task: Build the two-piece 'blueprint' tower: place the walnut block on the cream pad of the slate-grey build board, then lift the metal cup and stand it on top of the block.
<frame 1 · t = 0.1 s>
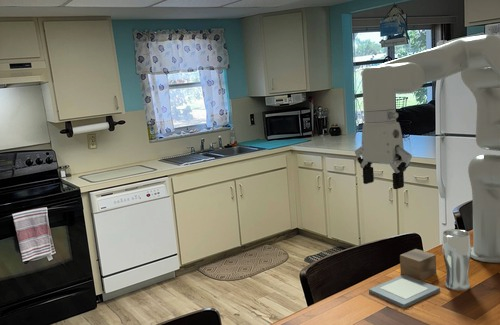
hand: (383, 185, 116), 31 cm above the table, fingers open, 9 cm apart
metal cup: (457, 286, 126), on the table
walnut block: (418, 274, 136), on the table
build board: (404, 291, 126), on the table
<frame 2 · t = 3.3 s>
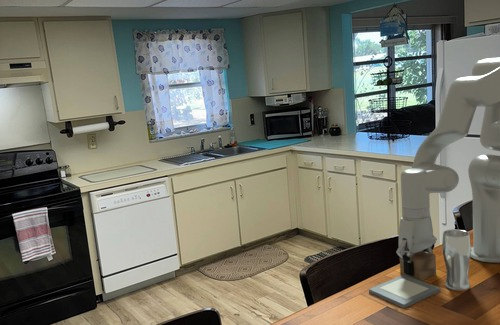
hand: (417, 270, 136), 1 cm above the table, fingers closed on walnut block, 7 cm apart
walnut block: (418, 274, 136), on the table, touching gripper
everything else where it was.
when the fingers open (4 cm above the table, at t = 8.3 s): walnut block drops 1 cm, resting on build board.
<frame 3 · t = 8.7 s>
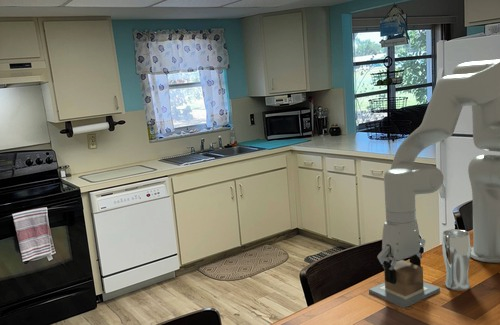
hand: (403, 277, 125), 4 cm above the table, fingers open, 9 cm apart
walnut block: (404, 287, 125), point 1 cm above the table, touching build board
everything else where it was.
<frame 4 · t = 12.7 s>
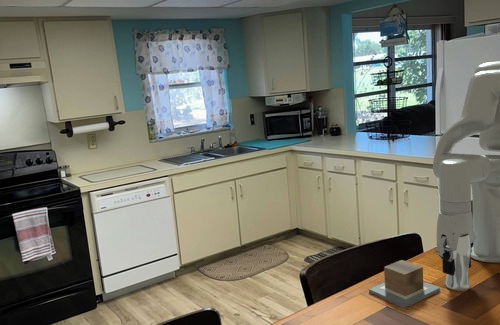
hand: (456, 269, 125), 5 cm above the table, fingers closed on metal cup, 6 cm apart
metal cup: (457, 286, 126), on the table, touching gripper
everything else where it was.
when the fingers open (13 cm above the table, at t = 17.8 s): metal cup drops 1 cm, resting on walnut block.
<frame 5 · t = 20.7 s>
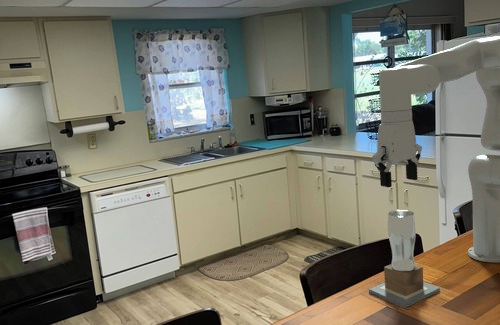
hand: (399, 182, 121), 30 cm above the table, fingers open, 9 cm apart
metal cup: (403, 268, 124), point 7 cm above the table, touching walnut block
walnut block: (404, 287, 125), point 1 cm above the table, touching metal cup, build board
at the end: walnut block inside the target area on the build board (0.2 cm from its centre), point 1.1 cm above the build board's base; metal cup 0.2 cm from the walnut block (horizontally); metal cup tilted 0° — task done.
